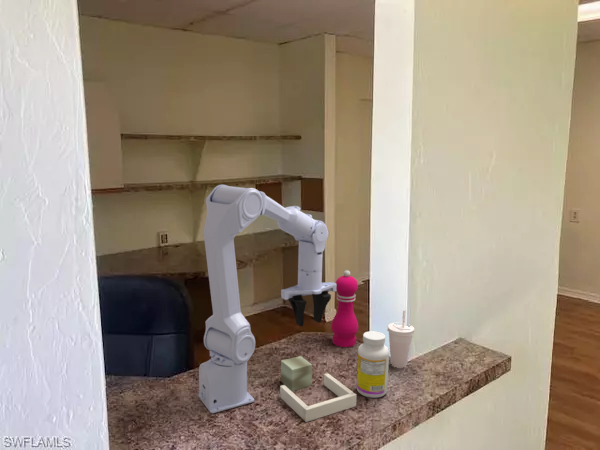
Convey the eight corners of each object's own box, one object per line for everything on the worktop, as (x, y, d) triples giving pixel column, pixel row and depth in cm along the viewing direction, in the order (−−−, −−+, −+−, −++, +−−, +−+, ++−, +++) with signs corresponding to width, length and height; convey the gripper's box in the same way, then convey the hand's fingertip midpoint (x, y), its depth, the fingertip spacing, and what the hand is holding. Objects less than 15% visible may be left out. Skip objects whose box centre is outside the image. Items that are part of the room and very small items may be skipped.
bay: (306, 422, 94) (306, 410, 93) (280, 397, 103) (280, 385, 102) (356, 406, 100) (356, 394, 99) (327, 383, 109) (327, 373, 108)
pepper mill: (329, 346, 128) (331, 273, 125) (332, 336, 135) (334, 266, 132) (357, 349, 127) (360, 275, 124) (358, 338, 134) (361, 267, 131)
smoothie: (405, 373, 114) (408, 316, 112) (380, 365, 118) (383, 310, 116) (416, 364, 119) (420, 309, 117) (392, 356, 123) (395, 303, 121)
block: (292, 391, 105) (292, 369, 104) (280, 381, 110) (281, 360, 109) (311, 385, 108) (312, 364, 107) (300, 376, 112) (300, 355, 111)
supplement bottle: (365, 380, 111) (367, 326, 108) (392, 389, 107) (395, 334, 105) (350, 392, 105) (353, 336, 103) (378, 402, 101) (381, 344, 99)
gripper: (292, 276, 110) (290, 334, 112) (344, 269, 117) (342, 323, 119) (277, 269, 116) (276, 324, 118) (328, 262, 123) (326, 314, 125)
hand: (308, 323), depth 119 cm, fingers open, 4 cm apart
